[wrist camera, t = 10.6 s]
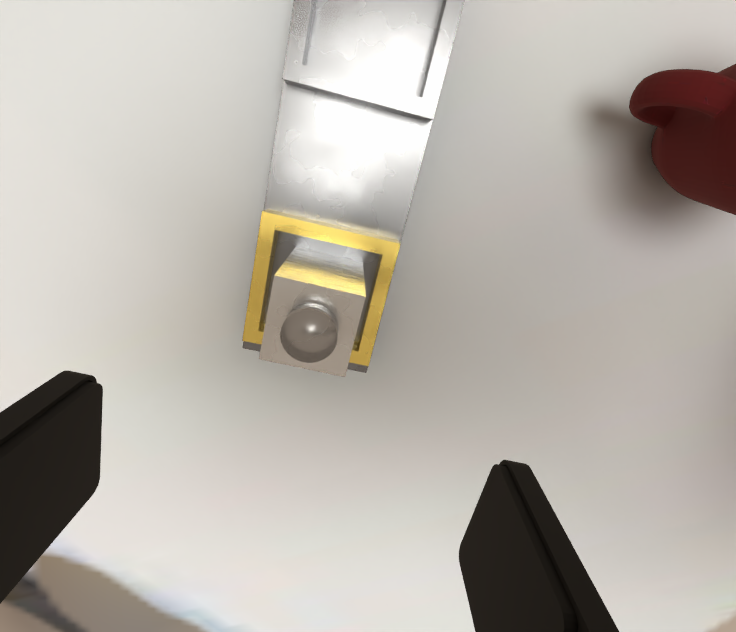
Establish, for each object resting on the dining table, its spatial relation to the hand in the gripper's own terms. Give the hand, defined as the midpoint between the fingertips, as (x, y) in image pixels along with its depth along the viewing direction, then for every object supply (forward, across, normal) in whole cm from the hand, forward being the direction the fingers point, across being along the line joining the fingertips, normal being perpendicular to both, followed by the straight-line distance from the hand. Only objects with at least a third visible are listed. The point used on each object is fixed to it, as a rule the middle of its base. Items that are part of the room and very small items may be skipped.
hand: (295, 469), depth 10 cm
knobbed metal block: (+16, +1, 0) cm, 16 cm away
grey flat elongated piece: (+18, +1, -7) cm, 19 cm away
